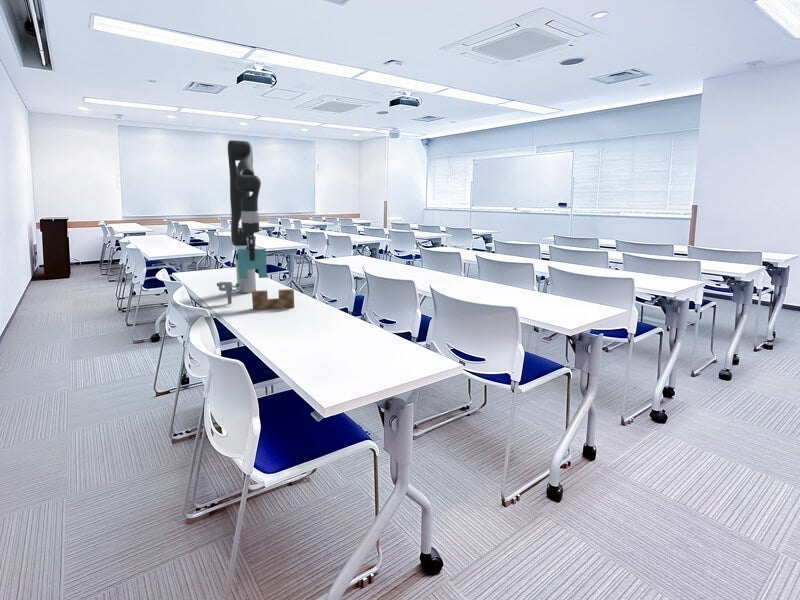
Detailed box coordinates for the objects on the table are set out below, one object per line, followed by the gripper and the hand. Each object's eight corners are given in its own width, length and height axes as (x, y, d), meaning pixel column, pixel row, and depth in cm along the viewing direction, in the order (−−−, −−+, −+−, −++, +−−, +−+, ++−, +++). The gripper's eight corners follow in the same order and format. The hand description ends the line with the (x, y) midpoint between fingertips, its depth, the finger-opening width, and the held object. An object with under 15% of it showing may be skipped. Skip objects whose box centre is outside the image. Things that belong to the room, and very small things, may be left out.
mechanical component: (239, 304, 220) (238, 283, 218) (217, 304, 221) (216, 282, 218) (241, 303, 223) (240, 282, 221) (220, 302, 224) (218, 281, 221)
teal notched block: (239, 278, 214) (237, 249, 211) (239, 277, 217) (237, 249, 214) (266, 277, 218) (265, 249, 215) (266, 276, 220) (265, 248, 217)
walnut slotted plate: (253, 309, 211) (252, 292, 209) (252, 308, 213) (251, 290, 212) (294, 307, 216) (293, 290, 215) (293, 306, 219) (293, 289, 217)
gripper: (241, 220, 217) (243, 258, 221) (241, 222, 204) (243, 262, 208) (258, 220, 219) (260, 257, 223) (259, 222, 206) (261, 262, 210)
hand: (252, 259), depth 215 cm, fingers closed on teal notched block, 3 cm apart
